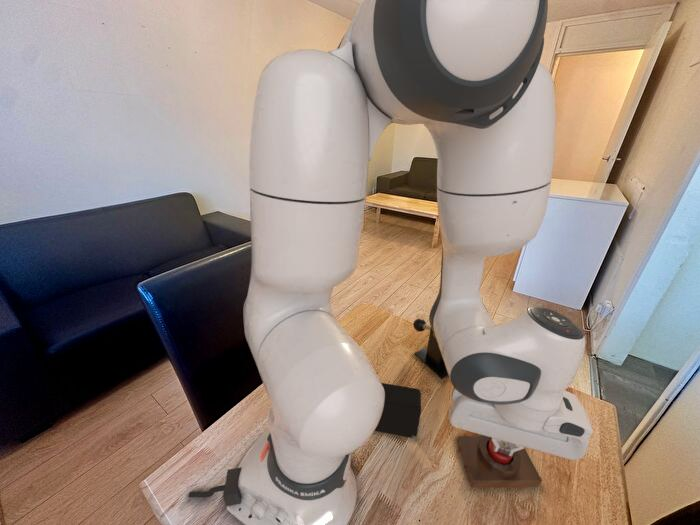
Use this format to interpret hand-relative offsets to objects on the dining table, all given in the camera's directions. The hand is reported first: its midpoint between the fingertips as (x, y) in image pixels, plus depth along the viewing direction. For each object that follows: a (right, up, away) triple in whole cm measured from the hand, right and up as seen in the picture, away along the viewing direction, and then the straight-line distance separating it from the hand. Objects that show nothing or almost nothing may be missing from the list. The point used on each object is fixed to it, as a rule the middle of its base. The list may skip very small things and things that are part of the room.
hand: (501, 450), depth 52 cm
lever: (-6, +15, +24) cm, 29 cm away
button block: (0, -4, +3) cm, 5 cm away
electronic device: (-18, -1, +10) cm, 21 cm away
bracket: (-4, +7, +25) cm, 26 cm away
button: (0, -1, +1) cm, 2 cm away
